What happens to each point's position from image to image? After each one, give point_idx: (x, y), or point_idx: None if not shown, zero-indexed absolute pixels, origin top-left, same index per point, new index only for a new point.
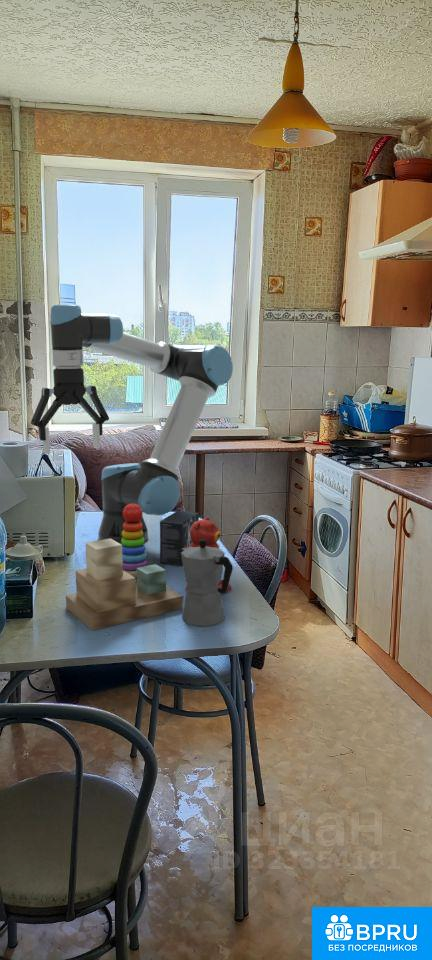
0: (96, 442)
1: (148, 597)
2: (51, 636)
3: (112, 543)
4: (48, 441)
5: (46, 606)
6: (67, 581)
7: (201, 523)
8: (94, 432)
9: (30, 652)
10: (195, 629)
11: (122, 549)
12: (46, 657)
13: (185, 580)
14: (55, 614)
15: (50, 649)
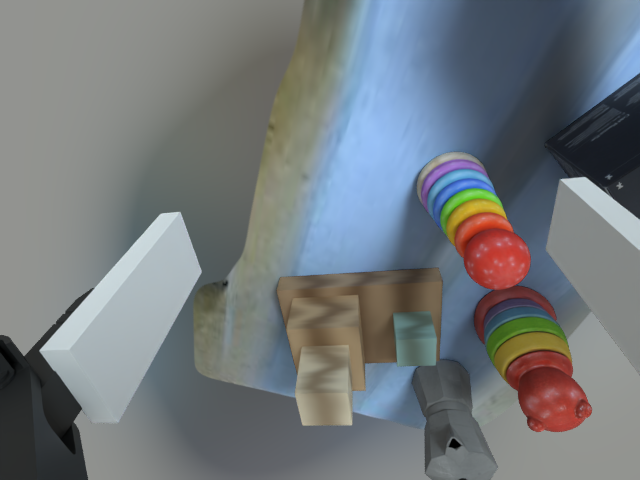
0: (570, 266)
1: (391, 346)
2: (245, 343)
3: (339, 414)
4: (163, 329)
5: (251, 258)
6: (309, 160)
7: (548, 428)
8: (628, 290)
9: (218, 364)
10: (412, 393)
11: (434, 216)
12: (234, 379)
13: (429, 417)
14: (260, 290)
15: (240, 367)
